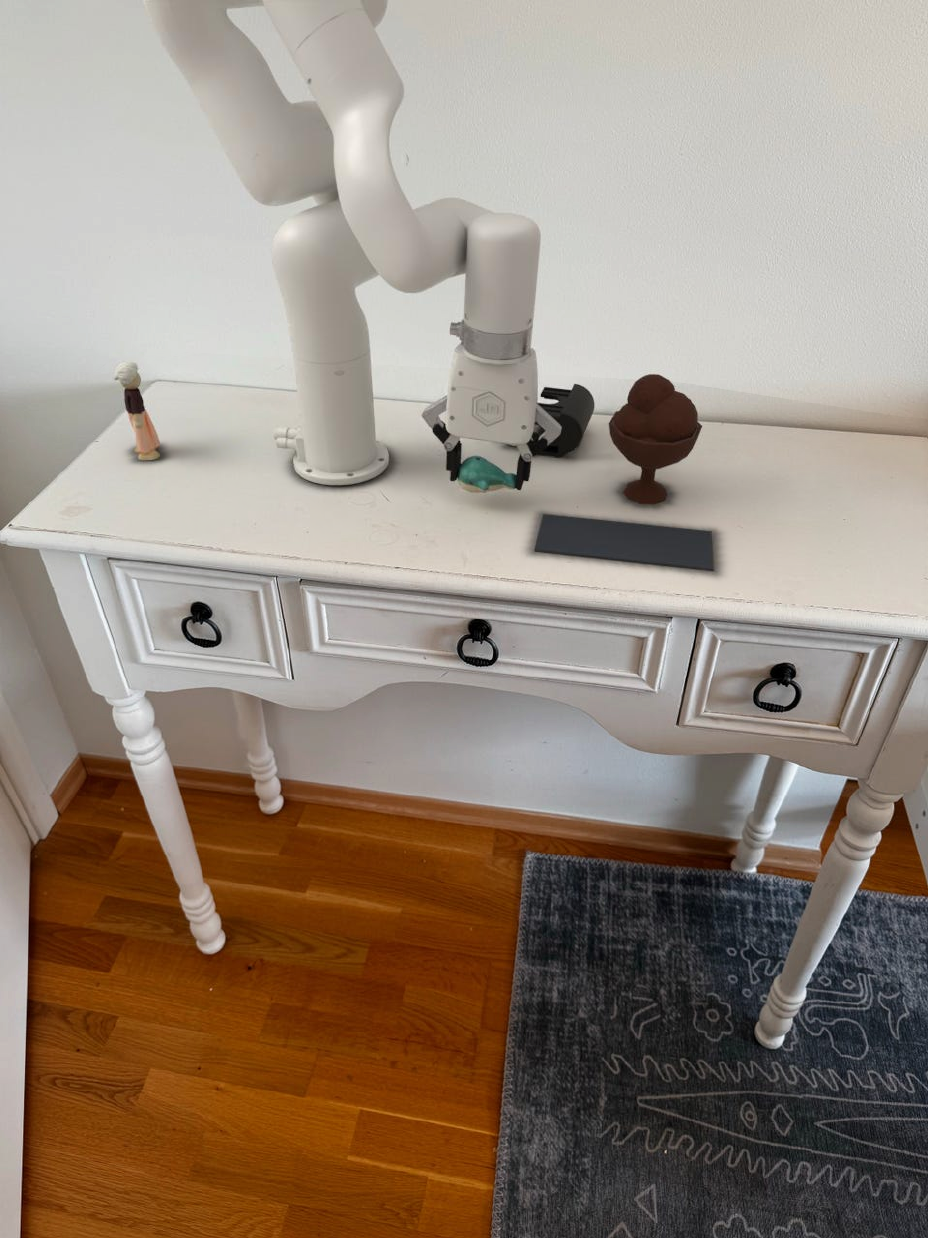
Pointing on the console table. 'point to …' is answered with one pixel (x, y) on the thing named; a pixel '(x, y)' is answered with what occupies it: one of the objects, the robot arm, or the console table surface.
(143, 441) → the grandmother figurine
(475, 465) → the whale figurine
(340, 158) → the robot arm
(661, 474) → the console table surface
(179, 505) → the console table surface
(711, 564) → the plate
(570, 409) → the end cap
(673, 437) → the ice cream bowl
